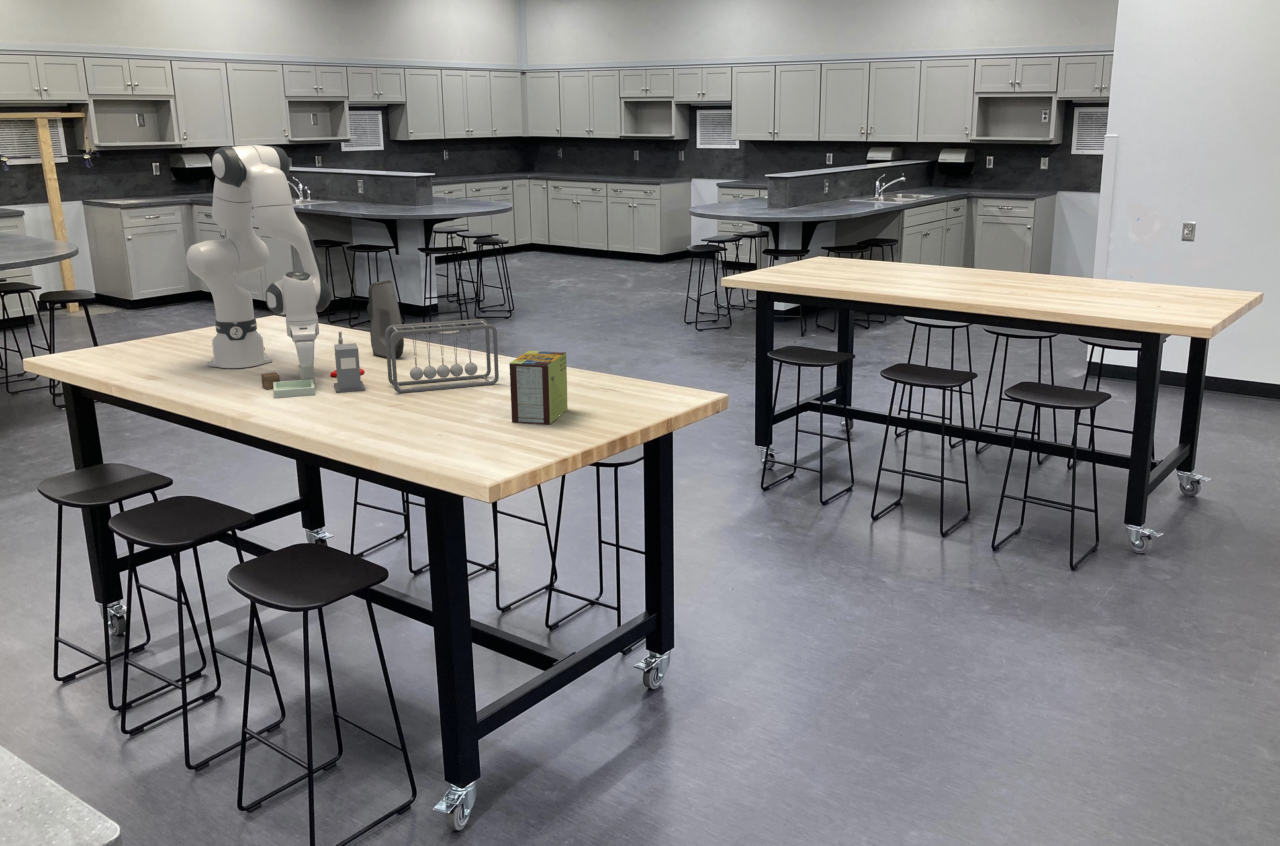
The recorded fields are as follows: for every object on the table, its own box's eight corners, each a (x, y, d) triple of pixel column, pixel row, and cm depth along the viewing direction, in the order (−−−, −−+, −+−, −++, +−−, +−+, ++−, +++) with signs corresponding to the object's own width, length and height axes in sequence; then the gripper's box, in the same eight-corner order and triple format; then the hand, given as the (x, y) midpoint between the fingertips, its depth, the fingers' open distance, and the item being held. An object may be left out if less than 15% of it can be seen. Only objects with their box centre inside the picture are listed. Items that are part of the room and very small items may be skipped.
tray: (273, 389, 299) (273, 382, 298) (313, 386, 302) (312, 379, 302) (274, 398, 289) (273, 390, 289) (315, 394, 293) (314, 387, 292)
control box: (333, 385, 304) (330, 344, 301) (362, 382, 306) (359, 342, 303) (336, 392, 295) (332, 350, 291) (365, 390, 297) (362, 348, 294)
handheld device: (385, 352, 348) (380, 276, 341) (412, 358, 338) (407, 281, 331) (369, 354, 344) (363, 278, 337) (395, 361, 334) (390, 283, 327)
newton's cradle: (490, 377, 313) (488, 318, 308) (499, 384, 304) (497, 324, 299) (388, 386, 303) (384, 325, 298) (394, 394, 293) (390, 331, 288)
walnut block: (262, 387, 302) (261, 373, 301) (276, 385, 304) (275, 372, 303) (266, 390, 299) (265, 376, 297) (280, 388, 301) (279, 374, 300)
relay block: (300, 382, 307) (298, 362, 306) (314, 381, 309) (312, 361, 307) (300, 385, 304) (298, 364, 302) (315, 384, 305) (313, 363, 303)
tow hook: (341, 371, 323) (326, 377, 313) (338, 326, 320) (324, 331, 310) (369, 372, 321) (355, 378, 312) (367, 327, 318) (353, 332, 309)
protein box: (568, 409, 277) (566, 351, 273) (550, 425, 262) (548, 364, 258) (530, 407, 279) (528, 350, 275) (510, 422, 265) (508, 362, 260)
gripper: (290, 323, 310) (294, 369, 314) (292, 336, 292) (296, 384, 295) (312, 322, 312) (316, 367, 316) (316, 334, 294) (320, 382, 297)
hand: (307, 376), depth 306 cm, fingers closed on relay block, 4 cm apart
